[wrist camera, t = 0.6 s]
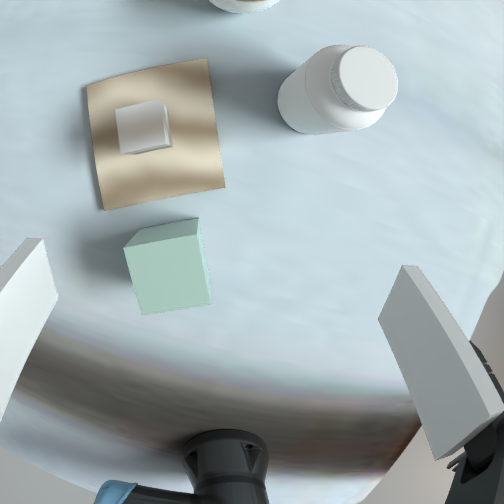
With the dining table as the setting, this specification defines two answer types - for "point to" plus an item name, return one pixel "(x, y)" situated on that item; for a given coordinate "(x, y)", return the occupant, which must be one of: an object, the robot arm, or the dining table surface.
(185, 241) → the mint foam cube
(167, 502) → the robot arm
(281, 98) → the pill bottle
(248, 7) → the lidded jar
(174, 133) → the post board
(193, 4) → the dining table surface
